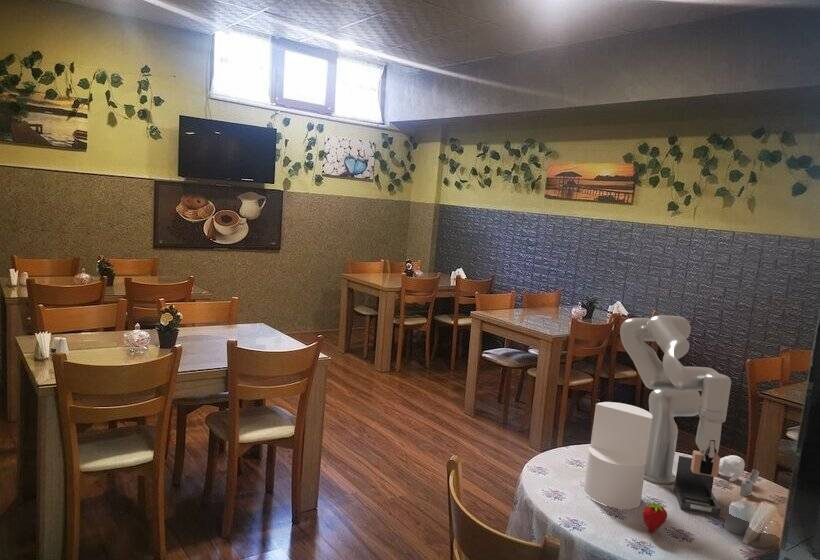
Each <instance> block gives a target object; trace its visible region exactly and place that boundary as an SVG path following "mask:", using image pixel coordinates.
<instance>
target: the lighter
mask: <svg viewBox="0 0 820 560" xmlns="http://www.w3.org/2000/svg"><path fill="white" fill-rule="evenodd" d="M759 475H760V471H758V470H757V469H752V471H751V473H750V475H749V478H745V479H744V481H742V482H741V485H740V491H739V495H740V496H742V497H745V496H746V497H748V496H747V495H749V494H751V495H752V491H753V486H754V484H756V482H757V480H758V477H759ZM749 496H750V495H749Z"/></svg>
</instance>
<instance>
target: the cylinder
mask: <svg viewBox="0 0 820 560" xmlns="http://www.w3.org/2000/svg"><path fill="white" fill-rule="evenodd" d="M652 418H653V416H652V414H650V413H649V411H648V410H646V409H645V408H641V407H639V406H636V405H632V404H627V403H622V402H612V401H603V402H598V403H595V407H594V416H593V424H592V431H591V437H590V439H591V440H590V445H589V448H588V452H587V461H586V468H585V475H584V484H583V491H584V490H585V492H586V493H587V494H588V495H589V496H590V497H591V498H593V499H595V500H596V501H598V502H600V503H603V504H605V505H607V506H611V507H615V508H621V509H620V510H624V509H627V510H633V508H634V509H636V508H638V507H639V505H641V502H642V501H641V500H642V494H643V489H644V488H643V487H644V481H645V479H644V474H645V467H646V460H647V453H648V446H649V439H650V432H651V425H652ZM615 508H614V509H615Z"/></svg>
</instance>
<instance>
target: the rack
mask: <svg viewBox="0 0 820 560" xmlns="http://www.w3.org/2000/svg"><path fill="white" fill-rule="evenodd" d="M691 463H692V457H690V456H684V455H679V456H678V460H677V467H676V473H675V474H676V475H675V476H676V480H675V483H674V489H673V491H674V494H675V498H676V500H677V502H678V505H679V509H680V510H681V511H687V512H692V513H697V514H702V515H708V516H710V517H711V516H712V517H716V518H720V517H721V512H722V511H721V507H720V505H719V503H718V500H717V499H716V497H715V495H714V493H713V486H714V481H715V479H714V478H715V477H713V476H708V475H702V474H696V473H693V472H692V470H691Z"/></svg>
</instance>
